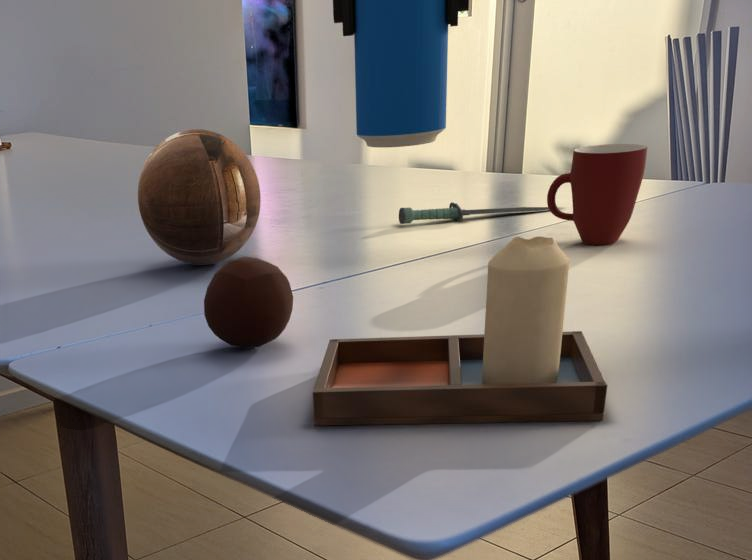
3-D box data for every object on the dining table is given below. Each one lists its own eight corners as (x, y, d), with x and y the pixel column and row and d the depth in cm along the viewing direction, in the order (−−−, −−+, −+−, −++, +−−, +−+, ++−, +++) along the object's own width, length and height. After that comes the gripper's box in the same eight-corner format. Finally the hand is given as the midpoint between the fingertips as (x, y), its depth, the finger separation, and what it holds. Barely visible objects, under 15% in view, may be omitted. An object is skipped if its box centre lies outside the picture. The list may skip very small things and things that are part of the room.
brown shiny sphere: (137, 261, 121) (119, 132, 113) (246, 246, 124) (235, 119, 116) (161, 283, 109) (141, 141, 100) (280, 266, 112) (271, 126, 104)
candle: (509, 398, 66) (519, 251, 60) (467, 378, 70) (474, 239, 65) (573, 384, 67) (589, 239, 62) (528, 365, 72) (539, 227, 66)
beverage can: (412, 135, 71) (413, -58, 64) (463, 139, 66) (470, -70, 59) (340, 146, 69) (334, -53, 62) (388, 151, 64) (386, -65, 57)
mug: (542, 250, 109) (550, 156, 103) (544, 236, 115) (551, 147, 109) (636, 248, 106) (650, 151, 100) (633, 234, 112) (645, 142, 107)
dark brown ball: (257, 327, 89) (250, 243, 85) (317, 345, 83) (313, 255, 79) (188, 346, 85) (177, 259, 81) (244, 366, 79) (236, 273, 75)
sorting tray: (578, 362, 73) (581, 330, 72) (602, 420, 63) (607, 385, 61) (330, 369, 77) (329, 339, 75) (314, 425, 66) (312, 391, 65)
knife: (405, 211, 125) (395, 202, 129) (404, 227, 126) (394, 218, 130) (566, 203, 128) (551, 194, 132) (563, 219, 129) (548, 210, 133)
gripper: (244, -330, 52) (269, 43, 62) (560, -383, 49) (533, 19, 59) (266, -294, 58) (286, 41, 68) (548, -339, 55) (526, 19, 65)
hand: (400, 28), depth 63 cm, fingers closed on beverage can, 6 cm apart
